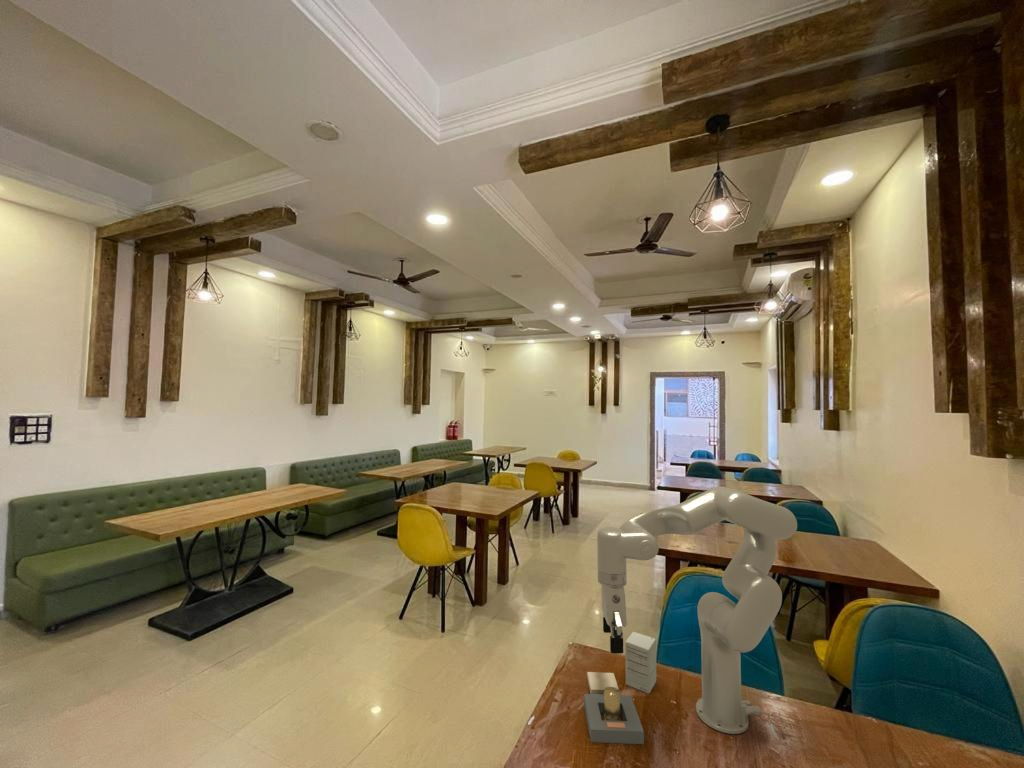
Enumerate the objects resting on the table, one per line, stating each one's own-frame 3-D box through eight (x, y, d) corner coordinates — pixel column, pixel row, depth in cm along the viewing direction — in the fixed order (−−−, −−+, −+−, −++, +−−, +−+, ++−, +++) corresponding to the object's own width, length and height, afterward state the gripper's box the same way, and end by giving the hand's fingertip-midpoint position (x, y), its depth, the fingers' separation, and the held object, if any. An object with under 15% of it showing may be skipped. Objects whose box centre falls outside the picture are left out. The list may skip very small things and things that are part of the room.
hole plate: (631, 706, 116) (631, 694, 117) (643, 744, 103) (643, 730, 104) (583, 705, 117) (583, 693, 117) (590, 742, 104) (590, 728, 104)
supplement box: (633, 672, 132) (633, 630, 132) (657, 681, 127) (656, 638, 128) (624, 684, 126) (624, 641, 127) (649, 694, 121) (649, 649, 122)
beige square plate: (613, 679, 128) (613, 672, 128) (619, 697, 120) (619, 690, 120) (587, 678, 128) (587, 672, 128) (591, 696, 120) (591, 689, 120)
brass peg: (618, 717, 112) (617, 686, 113) (621, 729, 108) (621, 697, 109) (602, 717, 112) (602, 686, 113) (605, 728, 108) (605, 696, 109)
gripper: (634, 590, 104) (635, 662, 103) (618, 564, 121) (619, 625, 120) (603, 590, 104) (604, 661, 103) (592, 564, 121) (593, 625, 120)
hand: (612, 642), depth 112 cm, fingers open, 9 cm apart
